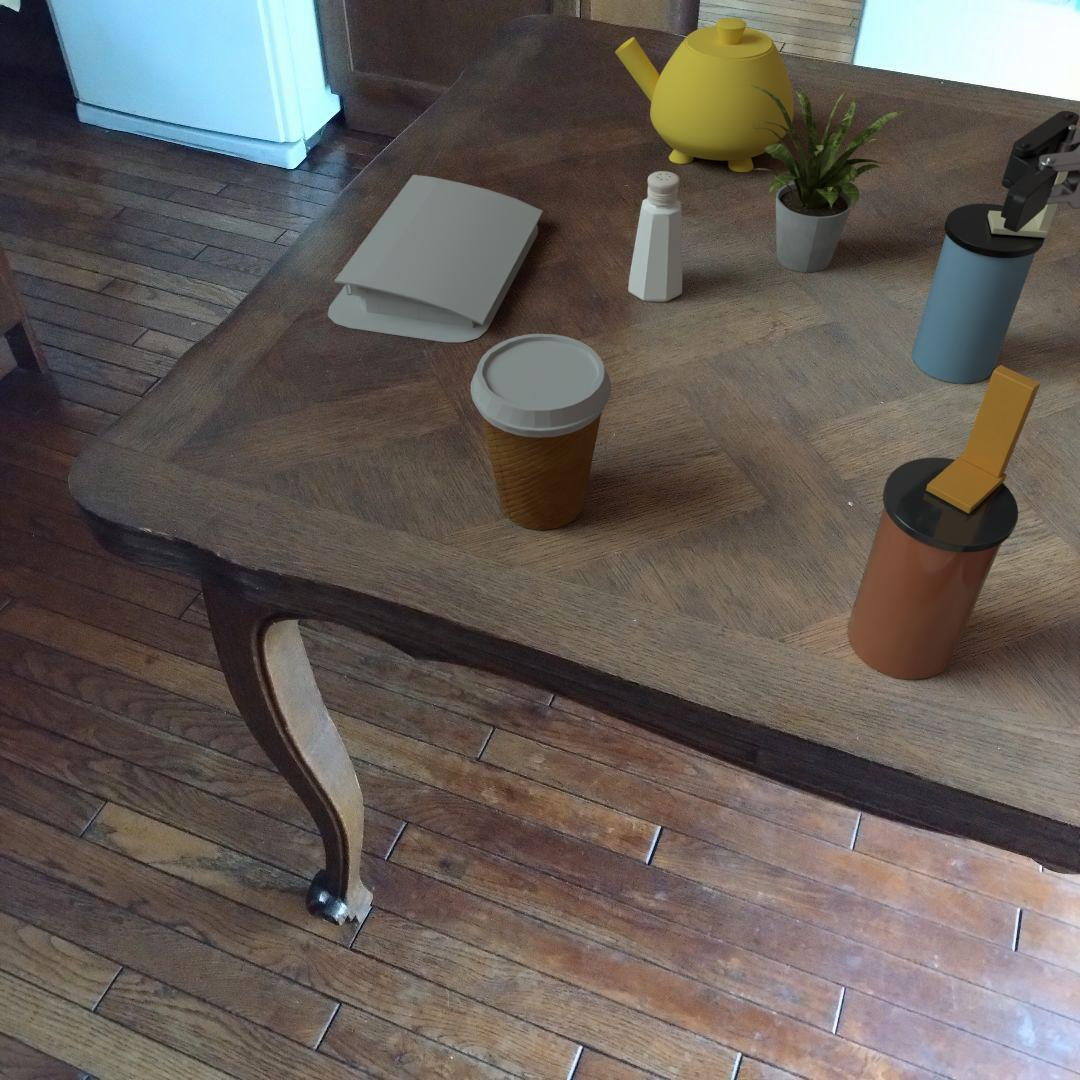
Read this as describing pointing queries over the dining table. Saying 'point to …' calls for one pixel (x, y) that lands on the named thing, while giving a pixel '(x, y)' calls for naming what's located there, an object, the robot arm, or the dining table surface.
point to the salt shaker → (658, 242)
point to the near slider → (988, 442)
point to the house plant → (816, 188)
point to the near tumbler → (924, 572)
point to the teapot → (716, 93)
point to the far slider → (1034, 226)
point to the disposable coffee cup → (541, 424)
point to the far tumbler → (972, 296)
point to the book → (436, 262)
